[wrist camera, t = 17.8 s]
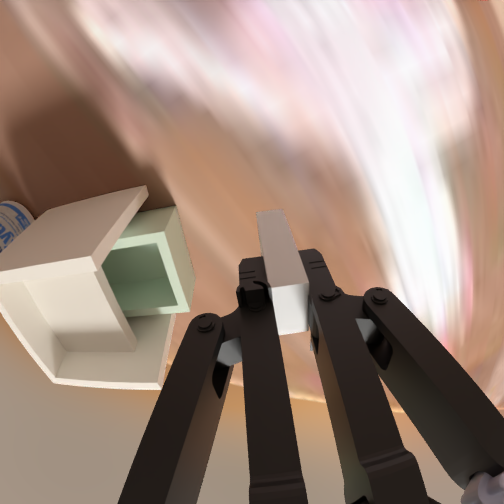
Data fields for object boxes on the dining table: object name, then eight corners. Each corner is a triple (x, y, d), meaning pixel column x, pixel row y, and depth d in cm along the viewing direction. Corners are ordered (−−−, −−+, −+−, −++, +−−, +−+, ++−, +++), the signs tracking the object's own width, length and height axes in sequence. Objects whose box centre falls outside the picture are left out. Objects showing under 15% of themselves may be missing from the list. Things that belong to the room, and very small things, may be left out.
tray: (70, 227, 31) (47, 252, 26) (176, 205, 31) (164, 231, 25) (98, 289, 36) (82, 319, 31) (195, 278, 36) (189, 311, 30)
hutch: (47, 209, 30) (-21, 275, 18) (146, 185, 29) (90, 256, 17) (90, 305, 37) (53, 383, 25) (180, 297, 37) (161, 389, 25)
